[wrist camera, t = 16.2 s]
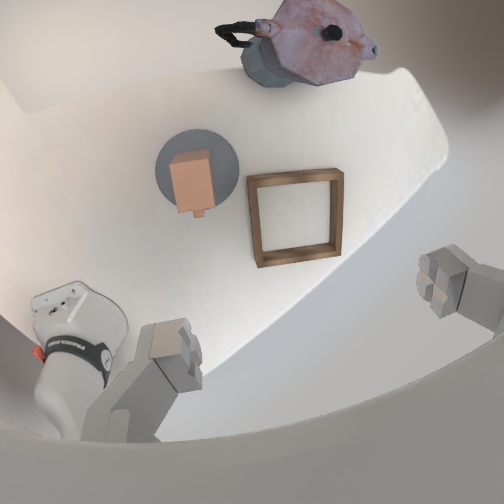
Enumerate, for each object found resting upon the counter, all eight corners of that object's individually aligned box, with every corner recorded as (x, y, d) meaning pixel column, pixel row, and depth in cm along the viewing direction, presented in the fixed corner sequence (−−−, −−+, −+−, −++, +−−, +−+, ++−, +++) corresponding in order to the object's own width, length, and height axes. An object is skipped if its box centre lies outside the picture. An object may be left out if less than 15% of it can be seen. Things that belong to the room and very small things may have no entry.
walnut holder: (255, 258, 49) (257, 268, 47) (246, 176, 42) (248, 181, 40) (334, 247, 50) (340, 255, 47) (336, 168, 43) (343, 172, 41)
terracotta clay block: (177, 153, 39) (169, 164, 32) (209, 148, 39) (208, 158, 32) (186, 202, 42) (180, 224, 35) (216, 198, 43) (216, 218, 36)
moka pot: (323, 93, 37) (401, 95, 20) (215, 93, 36) (216, 83, 18) (322, 35, 33) (397, 0, 15) (213, 31, 31) (214, -26, 14)
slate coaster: (164, 214, 43) (163, 216, 43) (150, 137, 38) (148, 138, 37) (242, 202, 44) (243, 204, 44) (233, 123, 38) (234, 124, 38)
